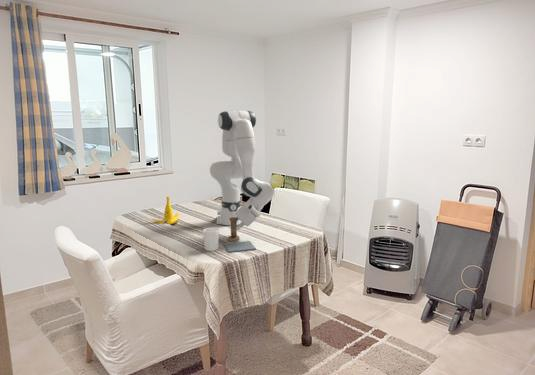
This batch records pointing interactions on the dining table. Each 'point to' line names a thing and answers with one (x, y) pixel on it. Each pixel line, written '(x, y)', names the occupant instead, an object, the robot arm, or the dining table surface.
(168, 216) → the banana peel
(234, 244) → the gray book
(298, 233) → the dining table surface
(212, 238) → the white cup
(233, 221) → the brown post
